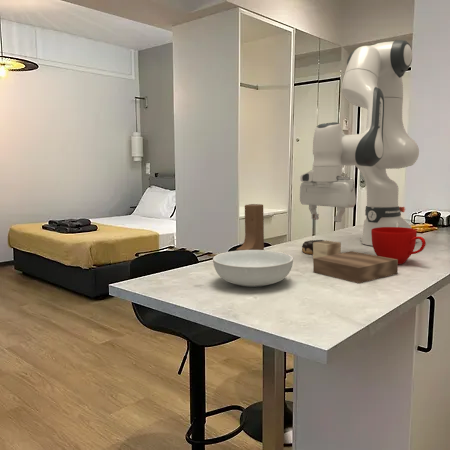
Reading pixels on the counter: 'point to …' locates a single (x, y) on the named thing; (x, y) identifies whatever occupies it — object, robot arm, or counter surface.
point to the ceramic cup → (395, 242)
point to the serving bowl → (253, 267)
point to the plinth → (355, 266)
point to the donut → (309, 246)
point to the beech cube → (326, 248)
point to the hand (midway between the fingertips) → (326, 220)
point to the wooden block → (253, 228)
